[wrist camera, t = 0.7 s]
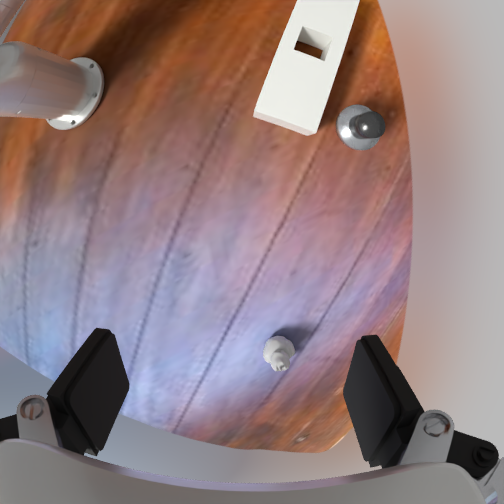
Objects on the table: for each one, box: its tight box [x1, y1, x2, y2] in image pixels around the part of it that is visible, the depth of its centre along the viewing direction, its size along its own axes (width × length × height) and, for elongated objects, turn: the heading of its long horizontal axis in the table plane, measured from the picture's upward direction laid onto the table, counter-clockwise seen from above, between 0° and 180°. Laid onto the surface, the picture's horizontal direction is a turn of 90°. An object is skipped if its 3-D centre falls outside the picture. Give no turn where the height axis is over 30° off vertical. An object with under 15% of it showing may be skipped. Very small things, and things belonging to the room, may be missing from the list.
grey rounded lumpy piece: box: [263, 336, 295, 371], centre depth 45 cm, size 5×7×8 cm
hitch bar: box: [253, 0, 360, 136], centre depth 31 cm, size 8×24×5 cm, turn 162°
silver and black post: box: [336, 105, 385, 150], centre depth 32 cm, size 6×6×10 cm
